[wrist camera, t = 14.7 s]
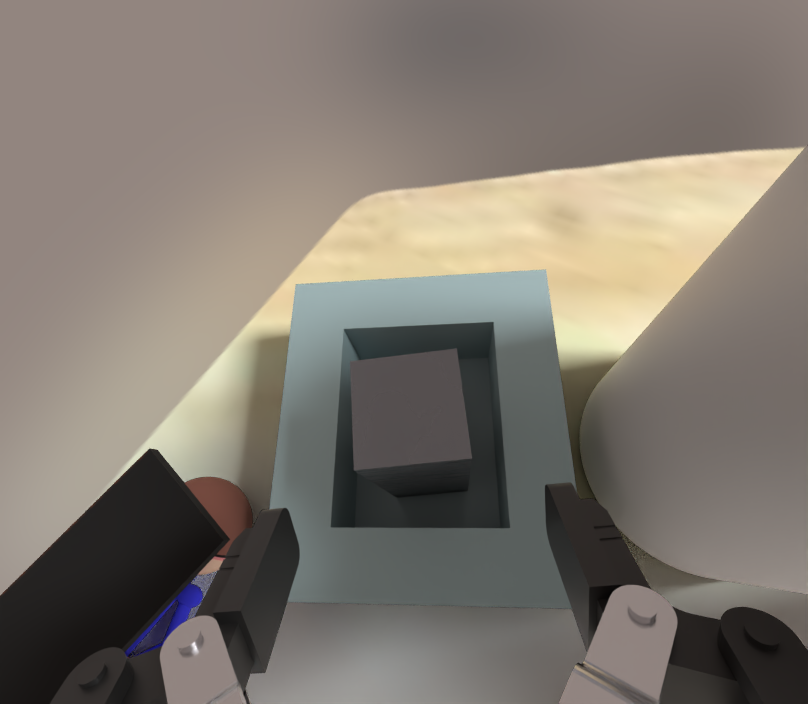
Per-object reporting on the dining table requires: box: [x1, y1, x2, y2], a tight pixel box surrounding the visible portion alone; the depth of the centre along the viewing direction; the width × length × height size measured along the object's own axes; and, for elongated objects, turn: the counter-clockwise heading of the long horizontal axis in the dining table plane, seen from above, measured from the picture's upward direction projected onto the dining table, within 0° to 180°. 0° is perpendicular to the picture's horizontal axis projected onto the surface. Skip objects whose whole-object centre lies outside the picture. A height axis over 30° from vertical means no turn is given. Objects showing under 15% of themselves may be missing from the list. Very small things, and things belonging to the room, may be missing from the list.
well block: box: [269, 270, 577, 609], centre depth 24 cm, size 14×16×6 cm
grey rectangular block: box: [350, 348, 472, 498], centre depth 21 cm, size 6×4×11 cm, turn 4°
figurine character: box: [0, 449, 253, 704], centre depth 23 cm, size 7×8×15 cm
